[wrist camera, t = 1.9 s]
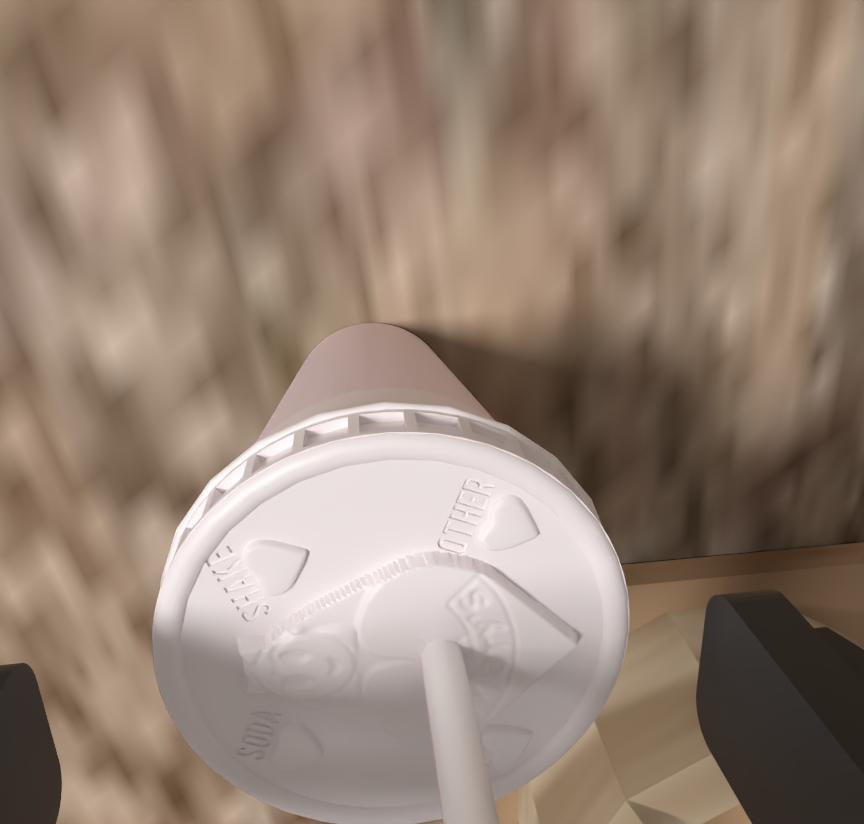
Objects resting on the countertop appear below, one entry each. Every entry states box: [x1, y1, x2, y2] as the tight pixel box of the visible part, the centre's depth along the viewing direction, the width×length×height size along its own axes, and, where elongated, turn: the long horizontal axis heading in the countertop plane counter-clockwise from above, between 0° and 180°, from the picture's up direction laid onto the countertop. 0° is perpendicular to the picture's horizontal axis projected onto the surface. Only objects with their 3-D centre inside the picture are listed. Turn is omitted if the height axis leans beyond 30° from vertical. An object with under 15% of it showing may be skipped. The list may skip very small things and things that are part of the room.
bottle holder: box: [495, 542, 864, 824], centre depth 22 cm, size 13×13×6 cm
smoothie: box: [152, 323, 629, 824], centre depth 13 cm, size 6×6×14 cm
